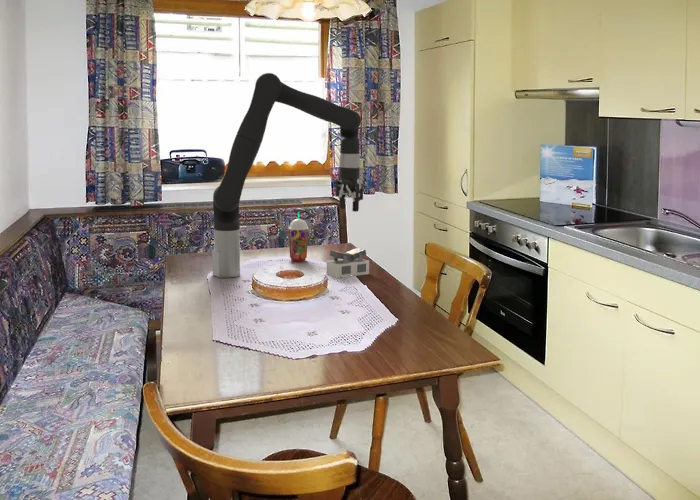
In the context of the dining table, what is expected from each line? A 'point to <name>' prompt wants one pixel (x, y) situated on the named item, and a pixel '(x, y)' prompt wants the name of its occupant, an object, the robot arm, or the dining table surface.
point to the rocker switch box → (347, 267)
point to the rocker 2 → (356, 253)
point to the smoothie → (298, 240)
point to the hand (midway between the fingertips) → (348, 210)
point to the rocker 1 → (339, 254)
